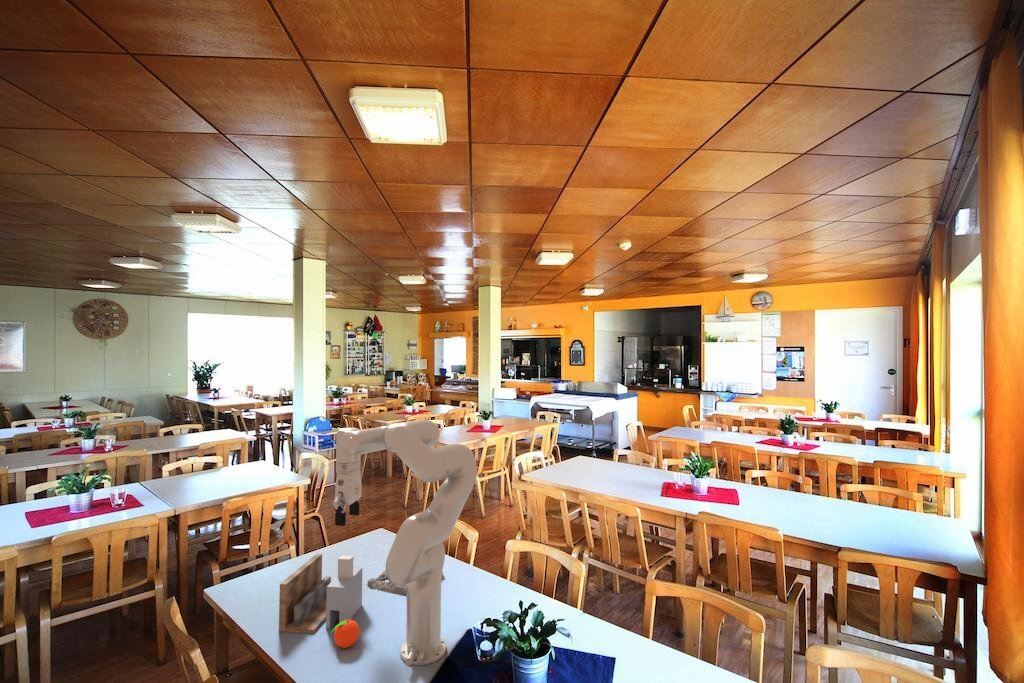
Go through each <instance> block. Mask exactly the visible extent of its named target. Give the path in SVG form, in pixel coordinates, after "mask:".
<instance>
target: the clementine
mask: <svg viewBox="0 0 1024 683" xmlns="http://www.w3.org/2000/svg"><path fill="white" fill-rule="evenodd" d="M332 633H333V638H334V642H335V645H337V646H338V647H340V648H342V649H345V648H346V649H347V648H350V647H351V646H353V645H354V644H355V643H356V642H357V641H358V639H359V636H360V627H359V623H357V622H356V621H355V620H353V619H351V620H350V619H347V620H344V621H342V622H341V623H339V622H338V624H336V625H335V626H334V627H333V629H332V631H331V633H330V635H332Z"/></svg>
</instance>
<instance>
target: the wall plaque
mask: <svg viewBox="0 0 1024 683" xmlns="http://www.w3.org/2000/svg"><path fill="white" fill-rule="evenodd" d="M444 577H445V576H444V571H442V580H443V579H444ZM385 580H389V578H388V576H387V573H386V569H385V570H384V571H383V572H382V573H381V574H380V575H378V576H377V577H376V578H369V579H367V585H366V586H367V587H368V588H370V587H371V588H370V589H372V588H374V589H373V590H376V589H377V591H380V590H381V592H385V591H386V593H389V594H390V593H391V594H396V595H402V596H407V587H408V584H406V585H402V586H399V585H395V584H393V583H392V582H391V581H390V580H389V582H388V581H385ZM383 581H384V582H383Z"/></svg>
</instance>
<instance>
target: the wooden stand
mask: <svg viewBox="0 0 1024 683" xmlns="http://www.w3.org/2000/svg"><path fill="white" fill-rule="evenodd" d="M331 579H332V576H331V575H325V577H324V578H323V553H316V554H314V555H313V556H312V557H311V558H310V559H308V560H307V561H306V562H305V563H303V564H302V565H301V566H300V567H299V568H297V569H296V570H295V571H293V572H292V573H291V574H289V576H288V577H287V578H285V579H284V580H283V581H282V582H280V583H279V601H278V602H279V603H278V604H279V605H278V607H279V608H278V609H279V610H278V632H283V633H284V632H288V633H299V634H300V633H302V634H315V632H316V631H317V630H318V629H319V628H320V626H321V625H323V623H324V622H326V597H327V586H328V585H329V584H330V583H331V582H332V580H331Z"/></svg>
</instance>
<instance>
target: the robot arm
mask: <svg viewBox="0 0 1024 683" xmlns="http://www.w3.org/2000/svg"><path fill="white" fill-rule="evenodd" d="M440 435H441V434H440V429H439V426H438V425H437V424H436V423H435V422H433V421H431V420H429V419H428V420H426V419H419V420H411V421H406V422H397V423H396V422H395V423H391V424H390V425H385V426H379V427H370V428H364V429H360V428H358V427H342V428H339V429H337V431H336V437H335V438H336V441H335V442H336V443H335V444H336V446H335V473H336V478H335V479H336V480H335V485H334V486H335V488H334V500H333V501H332V505H333V510H334V525H335V526H338V527H339V526H340V527H341V526H342V527H345V526H346V523H347V522H346V518H347V516H346V515H347V514H346V508H347V506H348V509H349V512H348V513H349V514H348V515H349V516H359V515H360V501H361V498H362V494H363V492H362V489H363V488H362V474H361V455H366V454H369V453H374V452H380V451H385V450H389V451H391V452H393V453H395V454H396V456H398V458H399V459H400V460H401V461H402V462H403V463H404V464H405V465H406V466H407V468H408V469H410V471H411V472H412V473H413V474H414V475H415V476H416V477H417V478H418V479H419V480H421V481H423V482H425V483H435V482H439V481H441V480H444V481H443V482H442V484H441V485H440V486H439V487H438V489H437V490H436V491H435V494H434V496H433V499H432V501H431V503H430V505H428V507H427V508H426V509H424V510H422V511H420V512H418V513H415V514H412V515H411V516H409V517H407V518H406V519H405V520H404V521H403V522H402V524H401V525H400V527H399V528H398V531H397V533H396V535H395V536H394V539H393V540H394V541H393V542H392V544H391V548H390V549H389V552H388V555H387V557H386V561H385V570H386V573H387V576H388V578H389V580H390V581H391V582H392V583H393V584H395V585H399V586H402V585H406V584H408V587H407V595H406V622H405V623H406V624H405V625H406V627H405V629H406V630H405V632H406V638H405V639H406V640H405V641H404V642H403V643H402V645H401V646H400V650H399V651H400V652H399V654H400V657H401V659H402V661H404V662H405V664H406V665H407V666H412V665H413V666H426V665H430V664H432V663H435V662H437V661H438V660H440V659H441V658H443V656H444V655H445V653H446V651H447V649H446V648H447V643H446V641H445V640H444V638H442V637H441V628H442V627H441V625H442V622H441V618H442V610H441V609H442V580H443V579H442V571H443V570H444V567H445V566H444V564H445V561H446V560H445V559H446V549H445V545H444V543H443V542H446V541H447V539H448V538H450V536H451V534H452V533H453V530H454V528H455V526H456V524H457V522H458V520H459V518H460V516H461V513H462V511H463V509H464V506H465V504H466V502H467V500H468V498H469V496H470V494H471V493H472V491H473V488H474V485H475V483H476V480H477V475H478V472H477V471H478V468H477V466H478V464H477V460H476V457H475V454H474V453H473V451H472V450H471V448H470V447H468V446H467V445H465V444H462V443H461V444H460V443H452V444H446V445H442V446H437V447H434V446H435V445H436V444H437V443H438V442H439V439H440ZM432 447H434V448H432ZM443 572H444V571H443Z"/></svg>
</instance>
